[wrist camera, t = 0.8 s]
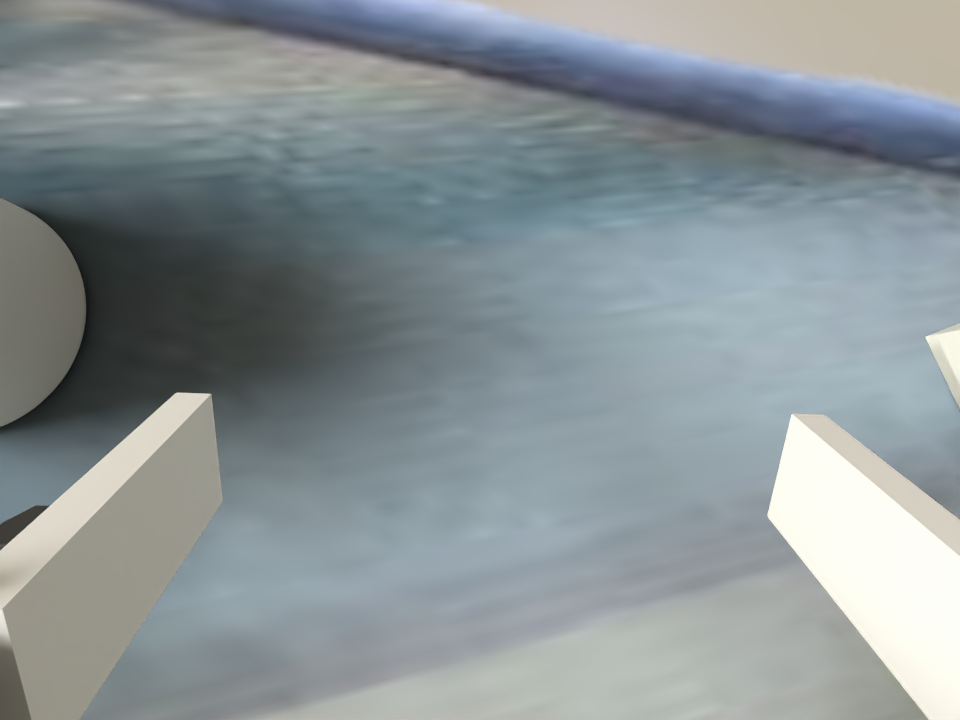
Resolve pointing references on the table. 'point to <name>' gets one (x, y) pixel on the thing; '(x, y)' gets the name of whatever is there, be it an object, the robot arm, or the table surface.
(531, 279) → the table surface
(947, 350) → the crate
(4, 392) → the cylinder vase
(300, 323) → the table surface
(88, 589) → the robot arm
